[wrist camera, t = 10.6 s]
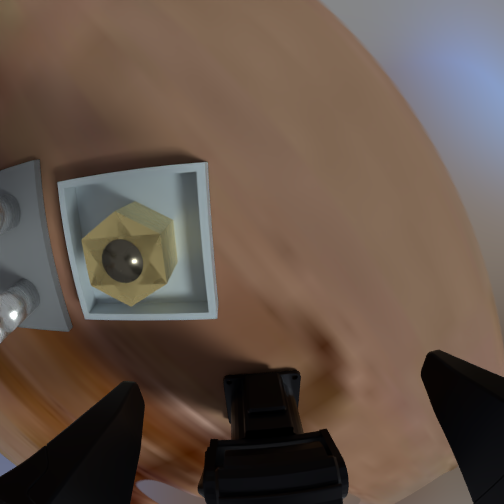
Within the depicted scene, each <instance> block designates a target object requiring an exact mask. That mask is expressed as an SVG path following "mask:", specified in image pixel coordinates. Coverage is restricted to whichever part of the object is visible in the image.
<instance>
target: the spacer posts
mask: <svg viewBox="0 0 504 504" xmlns="http://www.w3.org/2000/svg"><path fill="white" fill-rule="evenodd" d="M20 217H21V210H20V205H19V203H18V201H17V199H16V198H15V197H14V196H13V195H11V194H7V195H4V196H0V234H2V233H5V232H7V231H9V230H11V229H13V228H15V227H16V226H17V225H18V224H19V221H20ZM39 304H40V296H39V292H38V290H37V288H36V287H35V285H34V284H33V283H32V282H31V281H29V280H27V279H21V280H19V281H18V282H17V283H15V284H14V285H13V286H11V287H10V288H8V289H7V290H6V291H5V292H3V293H2V294H1V295H0V343H1V342H2V341H3V340H4V339H5V338H6V337H7V336H8V335H9V334H10V333H11V332H12V331H13V330H14V329H15V328H16V327H17V326H19V325H20V324H21V323H22V322H23V321H24V320H25V319H26V318H27V317H28V316H29V315H30V314H31V313H32V312H33V311H34V310H35V309H36V308H37V307H38V306H39Z"/></svg>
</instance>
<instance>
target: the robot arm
mask: <svg viewBox="0 0 504 504" xmlns="http://www.w3.org/2000/svg"><path fill="white" fill-rule="evenodd" d="M295 375H296V376H295ZM293 376H295V377H293ZM421 378H422V381H423V383H424V386H425V389H426V391H427V394H428V396H429V399H430V402H431V405H432V407H433V410H434V412H435V415H436V417H437V419H438V421H439V423H440V425H441V427H442V429H443V432H444V434H445V436H446V438H447V440H448V442H449V445H450V447H451V449H452V451H453V454H454V456H455V458H456V460H457V463H458V465H459V468H460V470H461V472H462V474H463V477H464V480H465V482H466V484H467V487H468V490H469V492H470V495H471V498H472V501H473V502H474V504H504V377H502V376H499V375H497V374H495V373H492V372H490V371H487V370H485V369H483V368H480V367H478V366H476V365H473V364H471V363H469V362H466V361H464V360H462V359H459V358H457V357H455V356H452V355H450V354H448V353H446V352H443V351H441V350H435V351H431V352H429V353H428V354H427V355H426V358H425V361H424V364H423V367H422V370H421ZM229 380H230V382H229ZM300 380H301V376H300V372H299V371H297V370H293V371H283V372H272V373H259V374H244V375H228V376H225V377H224V380H223V383H224V391H225V398H226V405H227V412H228V418H229V423H230V424H231V440H218V439H211V440H210V447H208V448H207V451H206V452H205V464H204V470H203V473H202V476H201V479H200V481H199V484H198V493H199V494H200V495H202V496H203V497H204V498H205V501H206V503H207V504H343V498H345V497H346V496H347V494H348V487H349V482H348V473H347V468H346V465H345V462H344V460H343V457H342V456H341V454H340V452H339V450H338V448H337V447H336V445H335V443H334V441H333V439H332V438H331V436H330V434H329V432H328V430H327V429H322V430H319V431H316V432H310V433H304V432H303V428H302V424H301V420H300V416H299V412H298V402H299V391H300ZM144 409H145V404H144V400H143V397H142V394H141V392H140V389H139V386H138V384H137V383H136V382H131V381H123V382H121V383H120V384H119V385H118V386H117V387H115V388H114V389H113V390H112V391H111V392H109V393H108V394H107V395H106V396H105V397H103V398H102V399H101V400H100V401H99V402H97V403H96V404H95V405H94V406H93V407H91V408H90V409H89V410H88V411H87V412H85V413H84V414H83V415H82V416H81V417H79V418H78V419H77V420H76V421H75V422H73V423H72V424H71V425H70V426H68V427H67V428H66V429H65V430H64V431H62V432H61V433H60V434H59V435H57V436H56V437H55V438H54V439H53V440H51V441H50V442H49V443H48V444H47V446H44V447H43V448H41V449H40V450H39V451H38V452H36V453H35V454H34V455H32V456H31V457H30V458H28V459H27V460H26V461H24V462H23V463H21V464H20V465H18V466H17V467H15V468H14V469H12V470H10V471H9V472H7V473H5V474H4V475H2V476H0V504H130V501H131V496H132V490H133V485H134V480H135V474H136V469H137V465H138V460H139V455H140V449H141V439H142V428H143V419H144Z"/></svg>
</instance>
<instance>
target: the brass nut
mask: <svg viewBox="0 0 504 504" xmlns="http://www.w3.org/2000/svg"><path fill="white" fill-rule="evenodd" d="M81 241H82V246H83V252H84V257H85V262H86V267H87V271H88V276H89V280H90V284H91V286H92V287H94V288H96V289H98V290H100V291H102V292H104V293H105V294H107V295H109V296H111V297H113V298H115V299H117V300H119V301H121V302H123V303H125V304H127V305H129V306H131V307H132V306H133V305H135V304H136V303H138V302H139V301H141V300H143V299H144V298H146V297H147V296H149V295H150V294H152V293H153V292H155V291H156V290H158V289H160V288H161V287H163V286H164V285H166V284H167V283H168V281H169V279H170V277H171V275H172V272H173V270H174V268H175V266H176V264H177V262H178V260H177V251H176V242H175V232H174V222H173V220H172V219H170V218H168V217H166V216H164V215H162V214H160V213H158V212H156V211H154V210H152V209H150V208H148V207H146V206H144V205H142V204H140V203H138V202H136V201H134V202H132V203H130V204H128V205H126V206H124V207H122V208H120V209H118V210H116V211H114V212H113V213H112V214H111V215H109V216H108V217H107V218H106V219H105V220H103V221H102V222H101V223H100V224H99V225H98V226H96V227H95V228H94V229H93V230H92V231H91V232H89V233H88V234H87V235H86V236H85V237H84V238H83V239H82V240H81Z"/></svg>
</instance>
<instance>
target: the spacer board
mask: <svg viewBox="0 0 504 504" xmlns="http://www.w3.org/2000/svg"><path fill="white" fill-rule="evenodd" d="M7 194H11V195H13V196H14V197H15V198H16V199H17V201H18V203H19V205H20V210H21V217H20V221H19V224H18V225H17V226H16V227H15V228H13V229H11V230H9V231H7V232H5V233H2V234H0V295H1V294H2V293H3V292H5V291H6V290H7V289H8V288H10V287H11V286H13V285H14V284H15V283H17V282H18V281H19V280H21V279H27V280H29V281H31V282H32V283H33V284H34V285H35V287H36V288H37V290H38V292H39V296H40V304H39V306H38V307H37V308H36V309H35V310H34V311H33V312H32V313H31V314H30V315H29V316H28V317H27V318H26V319H25V320H24V321H23V322H22V323H21V324H20V325H19V326H17V327H23V328H32V329H43V330H54V331H67V332H69V331H70V330H71V328H72V327H73V326H72V323H71V320H70V317H69V314H68V311H67V308H66V304H65V301H64V297H63V294H62V290H61V287H60V283H59V279H58V275H57V271H56V267H55V263H54V258H53V254H52V249H51V244H50V239H49V233H48V228H47V222H46V215H45V208H44V201H43V192H42V183H41V171H40V160H33V161H29V162H26V163H22V164H19V165H16V166H13V167H10V168H7V169H4V170H1V171H0V196H4V195H7Z"/></svg>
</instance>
